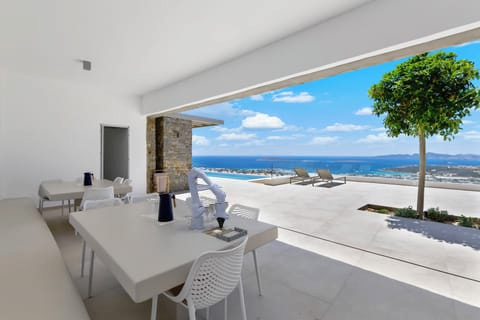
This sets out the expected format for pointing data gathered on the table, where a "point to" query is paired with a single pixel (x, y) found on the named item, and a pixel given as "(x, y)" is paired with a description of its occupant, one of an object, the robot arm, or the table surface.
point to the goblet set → (213, 207)
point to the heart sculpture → (191, 203)
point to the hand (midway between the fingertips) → (221, 227)
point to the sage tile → (226, 229)
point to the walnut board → (210, 231)
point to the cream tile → (217, 232)
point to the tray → (228, 239)
